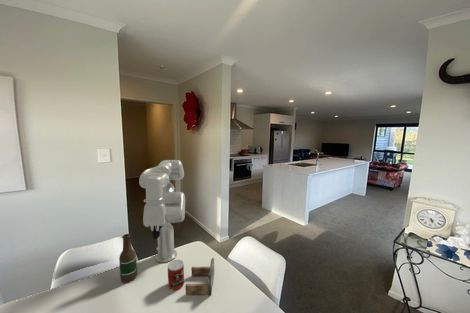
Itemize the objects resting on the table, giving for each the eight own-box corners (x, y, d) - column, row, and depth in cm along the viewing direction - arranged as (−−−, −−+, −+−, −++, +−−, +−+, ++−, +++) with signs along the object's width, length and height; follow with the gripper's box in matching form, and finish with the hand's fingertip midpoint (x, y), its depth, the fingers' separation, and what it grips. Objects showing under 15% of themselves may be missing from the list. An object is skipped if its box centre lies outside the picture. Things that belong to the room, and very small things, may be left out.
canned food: (169, 293, 93) (168, 271, 92) (167, 282, 100) (166, 262, 99) (185, 287, 96) (185, 266, 95) (182, 277, 103) (181, 257, 102)
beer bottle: (117, 281, 101) (114, 237, 98) (130, 271, 108) (127, 230, 106) (127, 285, 98) (125, 240, 95) (140, 275, 105) (138, 232, 103)
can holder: (185, 295, 91) (185, 275, 90) (192, 275, 105) (191, 257, 104) (211, 295, 91) (211, 275, 90) (214, 275, 105) (214, 257, 104)
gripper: (135, 204, 90) (137, 241, 92) (167, 204, 90) (169, 241, 92) (143, 199, 98) (144, 233, 99) (172, 199, 98) (174, 233, 99)
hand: (156, 237), depth 96 cm, fingers closed
